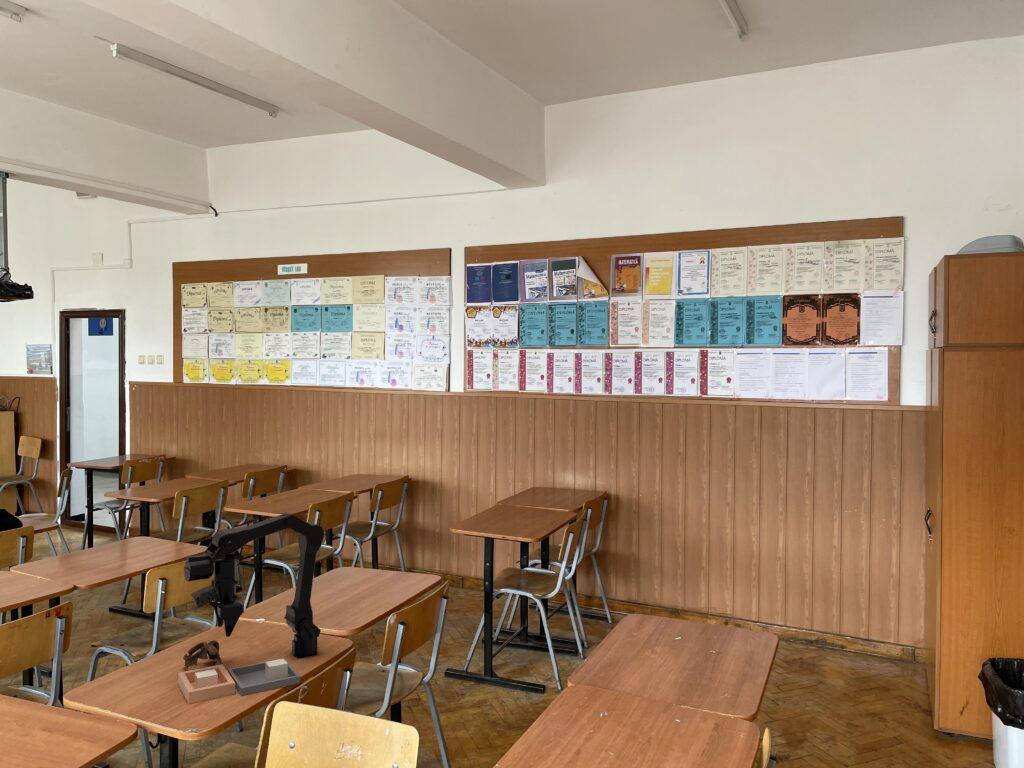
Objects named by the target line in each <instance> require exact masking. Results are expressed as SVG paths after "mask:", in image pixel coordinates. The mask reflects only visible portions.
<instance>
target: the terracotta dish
mask: <svg viewBox="0 0 1024 768" xmlns="http://www.w3.org/2000/svg"><path fill="white" fill-rule="evenodd" d="M213 669H215V671H216V672H217V674H218V684H217V685H212V686H207V687H202V688H197V689H195V673H197V672H202V671H207V670H213ZM177 685H178V687H179V689H180V691H181V692H182V695H183V696H184V698H185V700H186V702H187V704H188V705H189V704H195V703H200V702H205V701H209V700H214V699H218V698H219V699H220V698H222V697H227V696H232V695H235V694H236V688H235V682H234V680H233V679H232V678H231V676H230V675H229V673H228V669H227V668H226V667H225V666H224V665H222V664H221V665H216V666H215V665H212V666H207V667H201V668H196V669H192V670H191V669H190V670H185V671H180V672H178V673H177Z"/></svg>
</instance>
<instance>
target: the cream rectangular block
mask: <svg viewBox="0 0 1024 768" xmlns="http://www.w3.org/2000/svg"><path fill="white" fill-rule="evenodd" d="M217 684H218V674H217V672H216V671H215V669H213V670H207V671H202V672H197V673H195V689H197V688H202V687H207V686H212V685H217Z"/></svg>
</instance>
